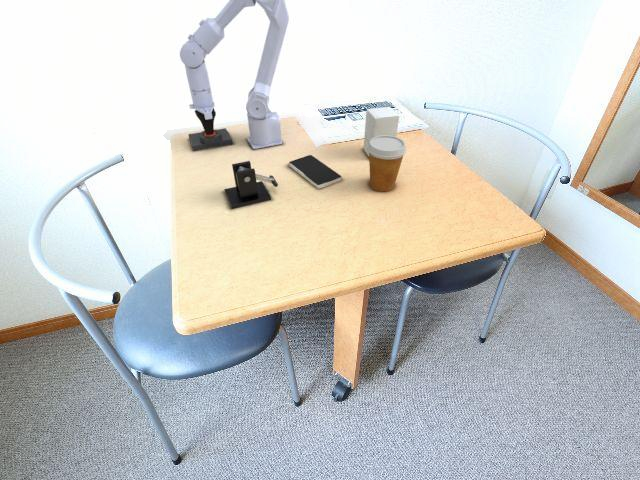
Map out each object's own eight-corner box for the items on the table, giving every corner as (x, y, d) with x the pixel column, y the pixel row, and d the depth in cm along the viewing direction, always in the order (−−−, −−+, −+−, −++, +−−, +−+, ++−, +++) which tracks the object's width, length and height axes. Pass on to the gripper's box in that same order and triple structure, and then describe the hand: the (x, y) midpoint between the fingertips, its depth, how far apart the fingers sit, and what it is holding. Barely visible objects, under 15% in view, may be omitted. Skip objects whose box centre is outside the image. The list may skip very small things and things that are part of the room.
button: (215, 135, 116) (214, 130, 115) (217, 140, 114) (216, 134, 112) (204, 137, 115) (202, 132, 114) (206, 142, 112) (204, 136, 111)
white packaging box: (394, 157, 108) (400, 115, 100) (370, 160, 107) (374, 118, 99) (385, 146, 114) (390, 106, 106) (362, 149, 113) (365, 108, 104)
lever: (270, 181, 96) (274, 173, 95) (275, 189, 93) (279, 181, 92) (235, 172, 90) (238, 163, 89) (239, 181, 87) (242, 172, 86)
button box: (226, 132, 122) (224, 122, 119) (233, 145, 115) (231, 134, 113) (189, 139, 118) (186, 128, 116) (194, 152, 111) (191, 141, 109)
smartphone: (318, 185, 95) (287, 162, 104) (318, 189, 96) (287, 165, 105) (342, 176, 98) (311, 154, 107) (342, 180, 99) (311, 158, 108)
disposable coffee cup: (403, 179, 99) (410, 137, 91) (396, 198, 92) (403, 154, 85) (368, 173, 102) (372, 132, 94) (360, 191, 95) (363, 148, 87)
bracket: (262, 184, 97) (258, 155, 92) (271, 199, 92) (268, 170, 86) (224, 192, 95) (218, 163, 89) (231, 209, 89) (225, 179, 84)
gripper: (182, 82, 108) (192, 126, 117) (189, 98, 98) (200, 145, 107) (206, 79, 110) (215, 123, 119) (215, 95, 100) (224, 141, 109)
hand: (209, 133), depth 113 cm, fingers closed, pressing on button
